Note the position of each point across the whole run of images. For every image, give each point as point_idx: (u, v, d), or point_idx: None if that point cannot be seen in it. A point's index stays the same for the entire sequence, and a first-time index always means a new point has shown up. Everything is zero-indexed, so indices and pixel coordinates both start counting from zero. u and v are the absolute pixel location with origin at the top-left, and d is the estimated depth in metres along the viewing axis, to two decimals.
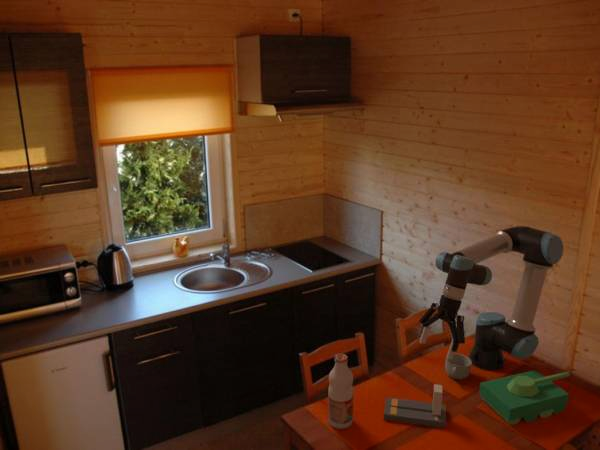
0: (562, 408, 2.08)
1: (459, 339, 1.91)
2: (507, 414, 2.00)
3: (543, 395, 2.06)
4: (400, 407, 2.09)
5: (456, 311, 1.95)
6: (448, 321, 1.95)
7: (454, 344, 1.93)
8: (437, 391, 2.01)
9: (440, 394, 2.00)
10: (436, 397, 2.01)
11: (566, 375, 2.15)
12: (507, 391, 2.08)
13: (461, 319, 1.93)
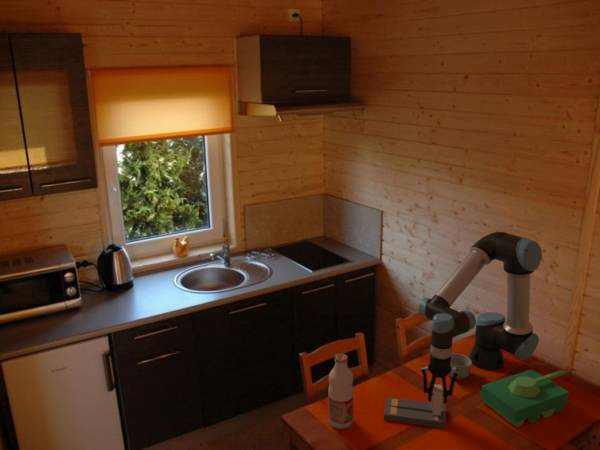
0: (562, 406, 2.09)
1: (451, 392, 2.01)
2: (513, 416, 1.98)
3: (544, 394, 2.06)
4: (400, 407, 2.09)
5: None
6: (443, 378, 1.99)
7: None
8: (437, 391, 2.01)
9: (440, 394, 2.00)
10: (436, 397, 2.01)
11: (563, 373, 2.16)
12: (509, 393, 2.07)
13: None
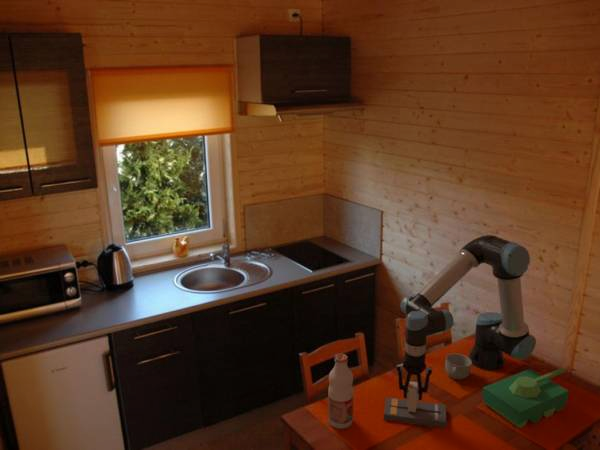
0: (562, 405, 2.10)
1: (426, 389, 2.03)
2: (516, 417, 1.98)
3: (545, 394, 2.06)
4: (400, 407, 2.09)
5: (424, 362, 2.01)
6: (418, 376, 2.01)
7: (419, 394, 2.04)
8: (412, 388, 2.03)
9: (415, 391, 2.02)
10: (411, 394, 2.03)
11: (562, 372, 2.17)
12: (511, 393, 2.07)
13: None
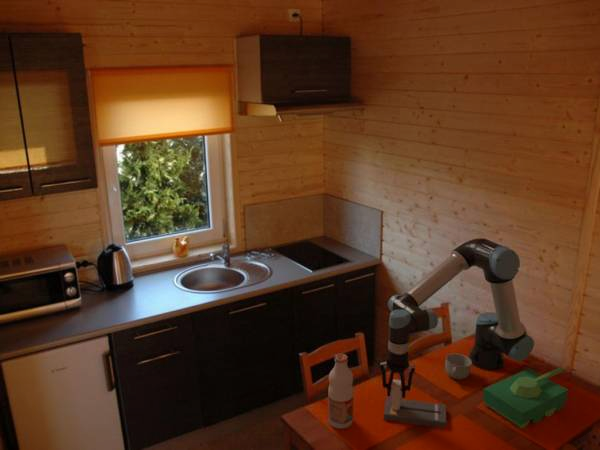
0: (562, 404, 2.10)
1: (409, 387, 2.04)
2: (519, 418, 1.97)
3: (546, 393, 2.06)
4: (400, 407, 2.09)
5: (407, 360, 2.02)
6: (401, 374, 2.02)
7: None
8: (395, 386, 2.04)
9: (398, 389, 2.04)
10: (395, 392, 2.04)
11: (560, 371, 2.18)
12: (512, 394, 2.06)
13: None
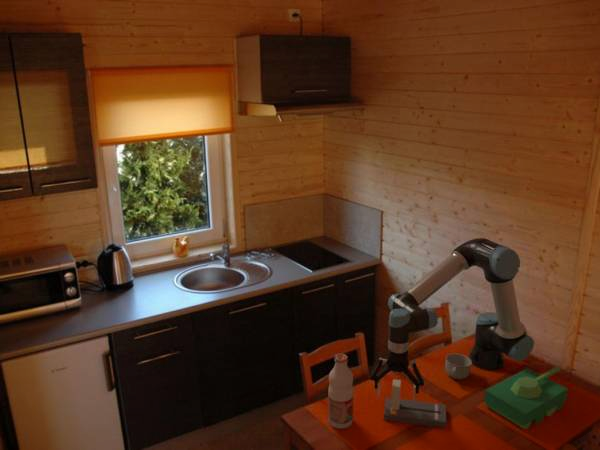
0: (562, 403, 2.11)
1: (421, 383, 2.02)
2: (522, 419, 1.97)
3: (546, 393, 2.07)
4: (400, 407, 2.09)
5: (407, 360, 2.02)
6: (405, 372, 2.02)
7: None
8: (395, 386, 2.04)
9: (398, 389, 2.04)
10: (394, 392, 2.04)
11: (558, 369, 2.18)
12: (514, 395, 2.06)
13: None
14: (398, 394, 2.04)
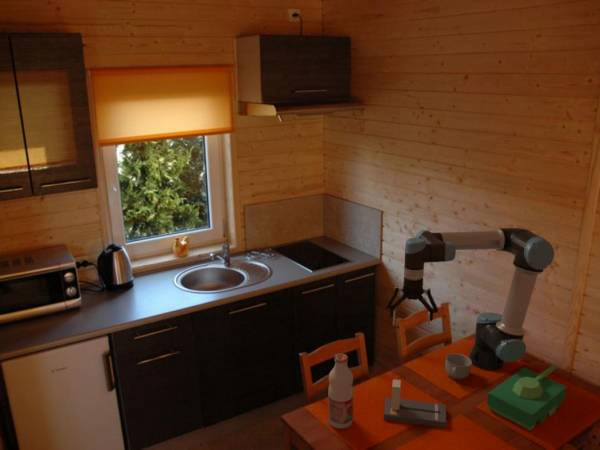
0: (561, 401, 2.12)
1: (435, 309, 2.11)
2: (528, 420, 1.96)
3: (547, 392, 2.07)
4: (400, 407, 2.09)
5: (422, 287, 2.11)
6: (420, 299, 2.11)
7: (431, 315, 2.13)
8: (395, 386, 2.04)
9: (398, 389, 2.04)
10: (394, 392, 2.04)
11: (555, 368, 2.20)
12: (516, 396, 2.05)
13: (430, 292, 2.11)
14: (398, 394, 2.04)
